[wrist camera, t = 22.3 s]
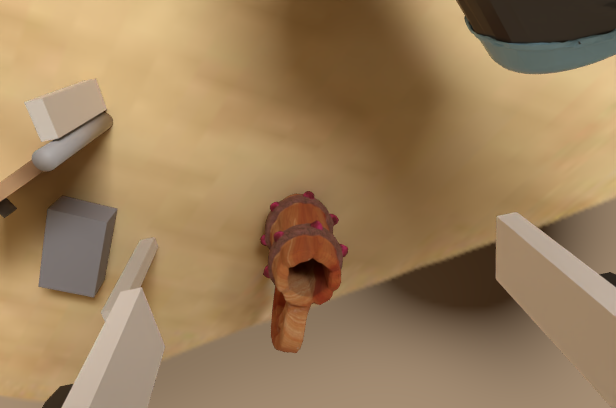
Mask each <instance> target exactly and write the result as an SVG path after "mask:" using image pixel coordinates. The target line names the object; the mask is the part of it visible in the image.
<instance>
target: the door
mask: <svg viewBox="0 0 616 408" xmlns="http://www.w3.org/2000/svg"><path fill="white" fill-rule="evenodd" d="M42 172H43V171H42V170H39V169H38V168H37V167H35V165H34V164H33V162H32V160H31V161H29V162H28V163H27V164H25V165H24V166H22V167H21V168H20V169H18V170H17V171H15V172H14V173H13V174H11V175H10V176H8V177H7V178H5V179H4V180H3V181H1V182H0V215H1V216H2V217H4V218H5V217H6V216H8V215H9V214H11V213H12V212H13V211H15V210H16V209H17V208H16V207H15V206H14V205H13V204H12V203H11V202H10V201H9V200H8V199H7V198H6V197H8V196H9V195H10V194H12V193H13V192H15V191H16V190H17V189H19V188H20V187H22V186H23V185H25V184H26V183H27V182H29V181H30V180H32V179H33V178H35V177H36V176H37V175H39V174H40V173H42Z"/></svg>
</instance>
